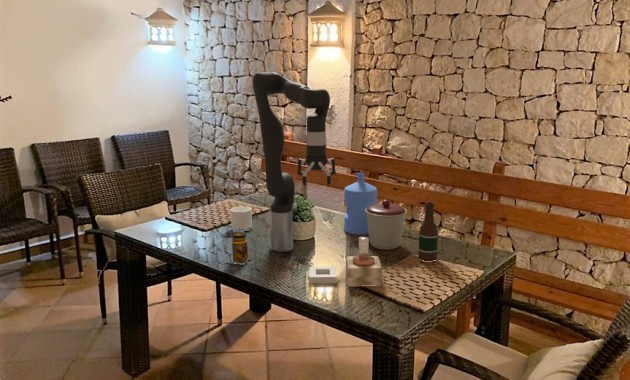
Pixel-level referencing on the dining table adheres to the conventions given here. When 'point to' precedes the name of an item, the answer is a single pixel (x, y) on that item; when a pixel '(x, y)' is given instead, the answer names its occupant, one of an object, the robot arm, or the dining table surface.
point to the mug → (241, 217)
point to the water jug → (358, 205)
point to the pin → (363, 253)
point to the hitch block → (363, 273)
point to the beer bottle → (428, 235)
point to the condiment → (239, 247)
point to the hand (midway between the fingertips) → (316, 185)
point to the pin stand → (322, 275)
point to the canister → (385, 225)
